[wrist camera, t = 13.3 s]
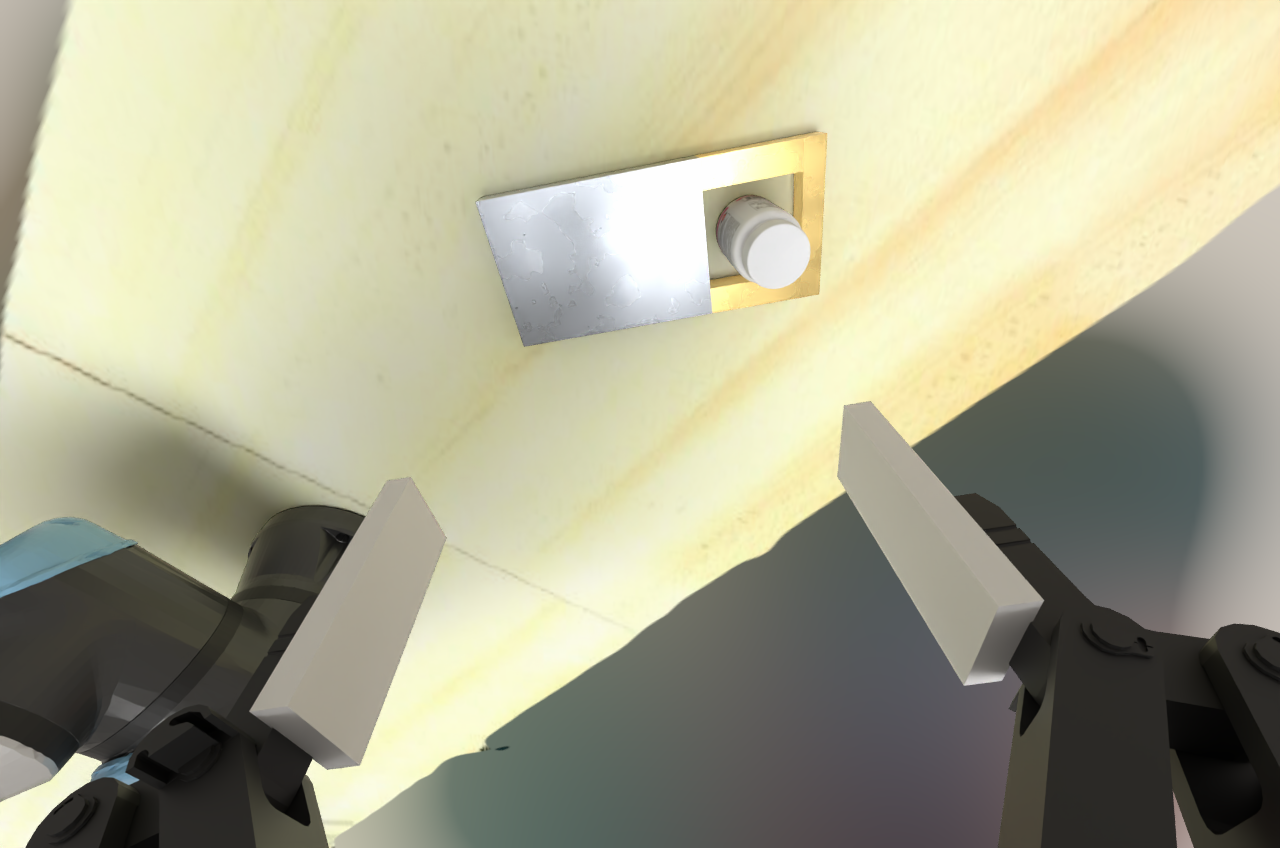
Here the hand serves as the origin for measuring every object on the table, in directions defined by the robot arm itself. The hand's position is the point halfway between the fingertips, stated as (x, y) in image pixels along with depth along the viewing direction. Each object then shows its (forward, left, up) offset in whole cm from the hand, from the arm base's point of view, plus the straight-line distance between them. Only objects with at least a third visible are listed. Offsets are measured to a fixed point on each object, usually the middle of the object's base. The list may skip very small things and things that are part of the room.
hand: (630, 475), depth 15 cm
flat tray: (+3, 0, -27) cm, 27 cm away
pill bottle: (+10, 0, -27) cm, 29 cm away
